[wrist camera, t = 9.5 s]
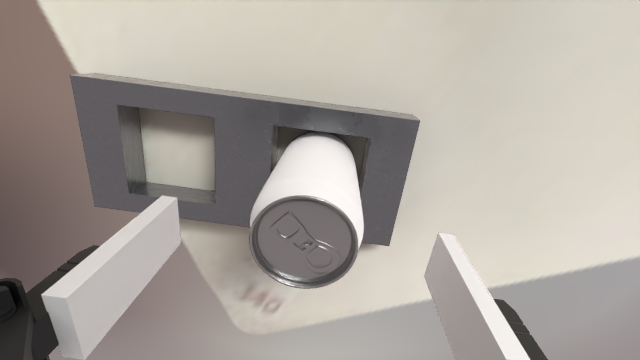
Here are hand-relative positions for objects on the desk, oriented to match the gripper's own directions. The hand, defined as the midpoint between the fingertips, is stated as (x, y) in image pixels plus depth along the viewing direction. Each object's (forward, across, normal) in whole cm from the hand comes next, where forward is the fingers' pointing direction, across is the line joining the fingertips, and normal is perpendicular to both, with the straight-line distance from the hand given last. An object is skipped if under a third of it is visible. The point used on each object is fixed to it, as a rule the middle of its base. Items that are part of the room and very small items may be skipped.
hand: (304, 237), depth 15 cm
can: (+12, 0, -1) cm, 12 cm away
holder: (+12, -6, -1) cm, 13 cm away
